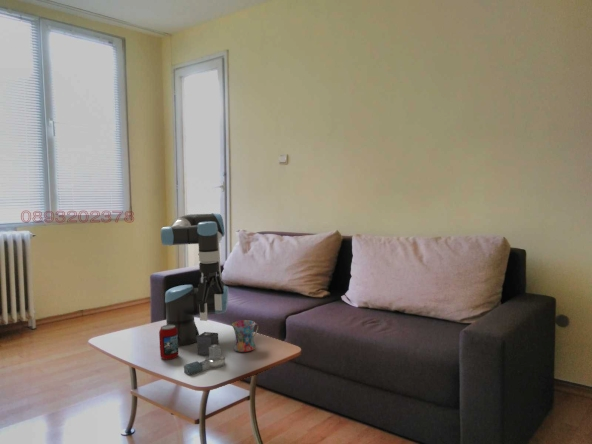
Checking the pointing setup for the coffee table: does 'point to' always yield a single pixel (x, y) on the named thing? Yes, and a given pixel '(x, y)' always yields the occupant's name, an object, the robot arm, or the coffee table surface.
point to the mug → (244, 335)
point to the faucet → (206, 362)
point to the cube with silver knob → (206, 342)
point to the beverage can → (168, 342)
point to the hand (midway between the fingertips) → (211, 315)
